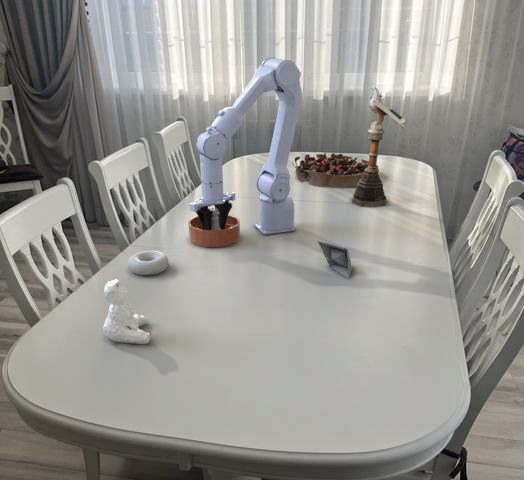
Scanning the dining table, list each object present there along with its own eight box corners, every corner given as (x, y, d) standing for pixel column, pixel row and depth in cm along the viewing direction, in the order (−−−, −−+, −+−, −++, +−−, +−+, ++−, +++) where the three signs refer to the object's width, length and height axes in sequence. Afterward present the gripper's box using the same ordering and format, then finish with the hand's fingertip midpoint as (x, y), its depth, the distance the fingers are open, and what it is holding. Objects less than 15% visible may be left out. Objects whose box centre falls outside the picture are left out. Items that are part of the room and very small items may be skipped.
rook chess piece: (207, 234, 155) (205, 206, 150) (222, 234, 155) (221, 206, 151) (207, 240, 151) (205, 212, 147) (223, 240, 151) (222, 211, 147)
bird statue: (400, 196, 187) (415, 83, 168) (402, 208, 176) (419, 88, 157) (351, 194, 189) (361, 82, 170) (350, 205, 178) (360, 87, 159)
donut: (157, 280, 131) (176, 263, 139) (155, 267, 129) (175, 251, 137) (120, 274, 133) (141, 258, 141) (118, 261, 132) (139, 246, 139)
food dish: (295, 164, 228) (296, 145, 224) (375, 168, 224) (378, 148, 220) (286, 185, 198) (287, 162, 194) (379, 190, 194) (382, 167, 190)
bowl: (231, 228, 161) (230, 211, 158) (246, 244, 150) (246, 227, 147) (184, 233, 157) (183, 216, 154) (196, 251, 146) (195, 233, 143)
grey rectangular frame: (368, 265, 135) (353, 268, 127) (351, 283, 138) (335, 287, 130) (337, 230, 137) (320, 232, 130) (320, 249, 141) (303, 251, 133)
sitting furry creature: (151, 344, 106) (144, 288, 99) (105, 351, 104) (95, 294, 97) (146, 321, 113) (138, 268, 107) (103, 327, 111) (93, 273, 105)
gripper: (200, 190, 138) (203, 241, 145) (242, 178, 147) (243, 227, 154) (183, 184, 142) (187, 234, 149) (224, 174, 151) (226, 221, 158)
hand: (214, 230), depth 152 cm, fingers open, 4 cm apart
